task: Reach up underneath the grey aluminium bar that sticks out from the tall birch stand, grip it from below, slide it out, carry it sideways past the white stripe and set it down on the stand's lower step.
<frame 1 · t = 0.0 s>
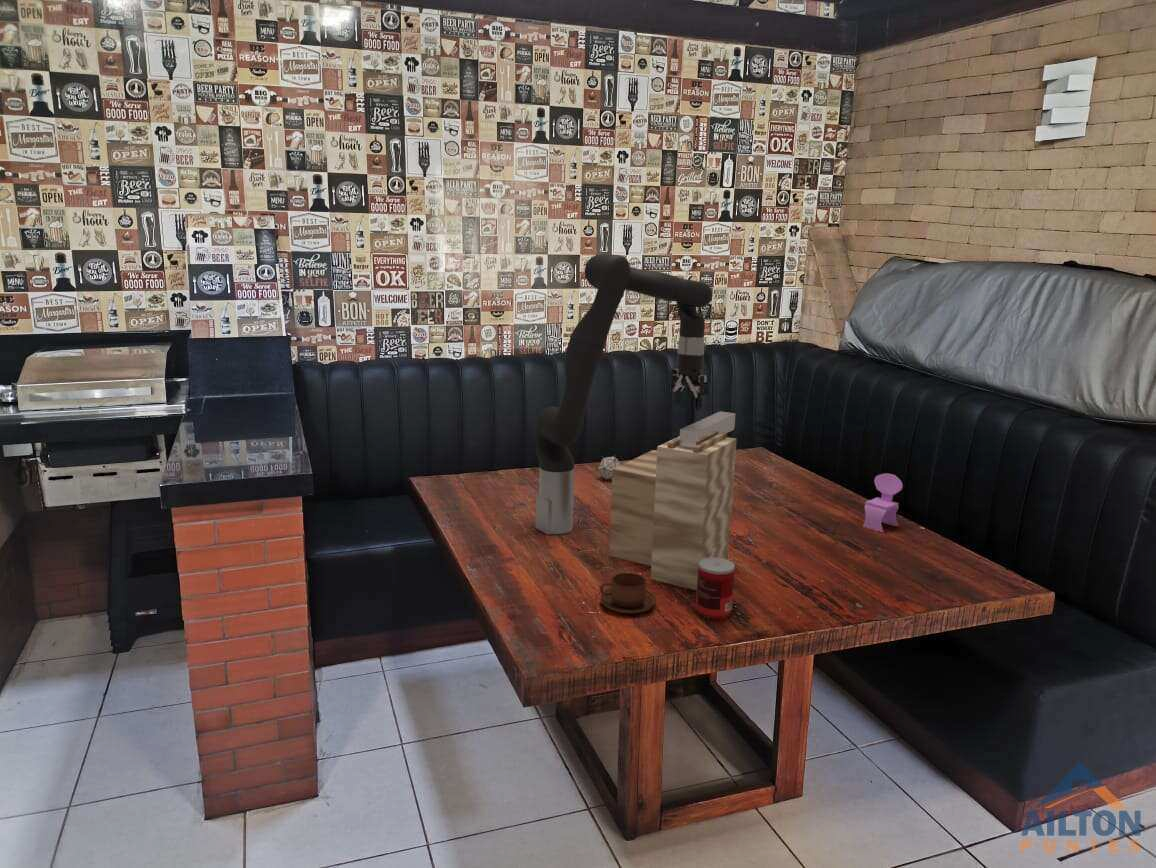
hand: (687, 407, 247), 29 cm above the table, tool pointing down, fingers open, 8 cm apart
toy chair: (879, 527, 237), on the table
game die: (609, 480, 275), on the table
cup and saucer: (627, 606, 184), on the table
canned food: (713, 612, 182), on the table
bar: (707, 437, 200), point 32 cm above the table, touching stand
stand: (689, 571, 203), on the table
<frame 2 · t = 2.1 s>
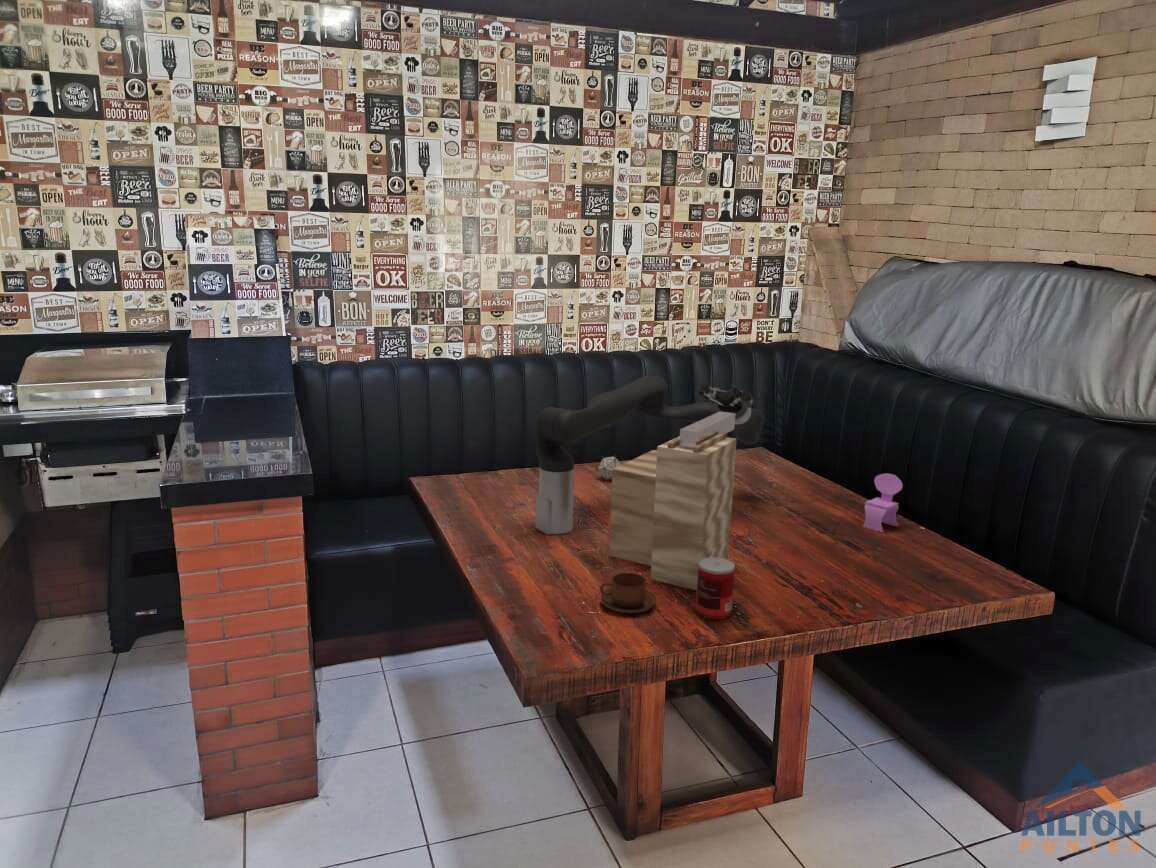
hand: (718, 387, 225), 39 cm above the table, tool pointing upward, fingers open, 8 cm apart
nothing on the table moved.
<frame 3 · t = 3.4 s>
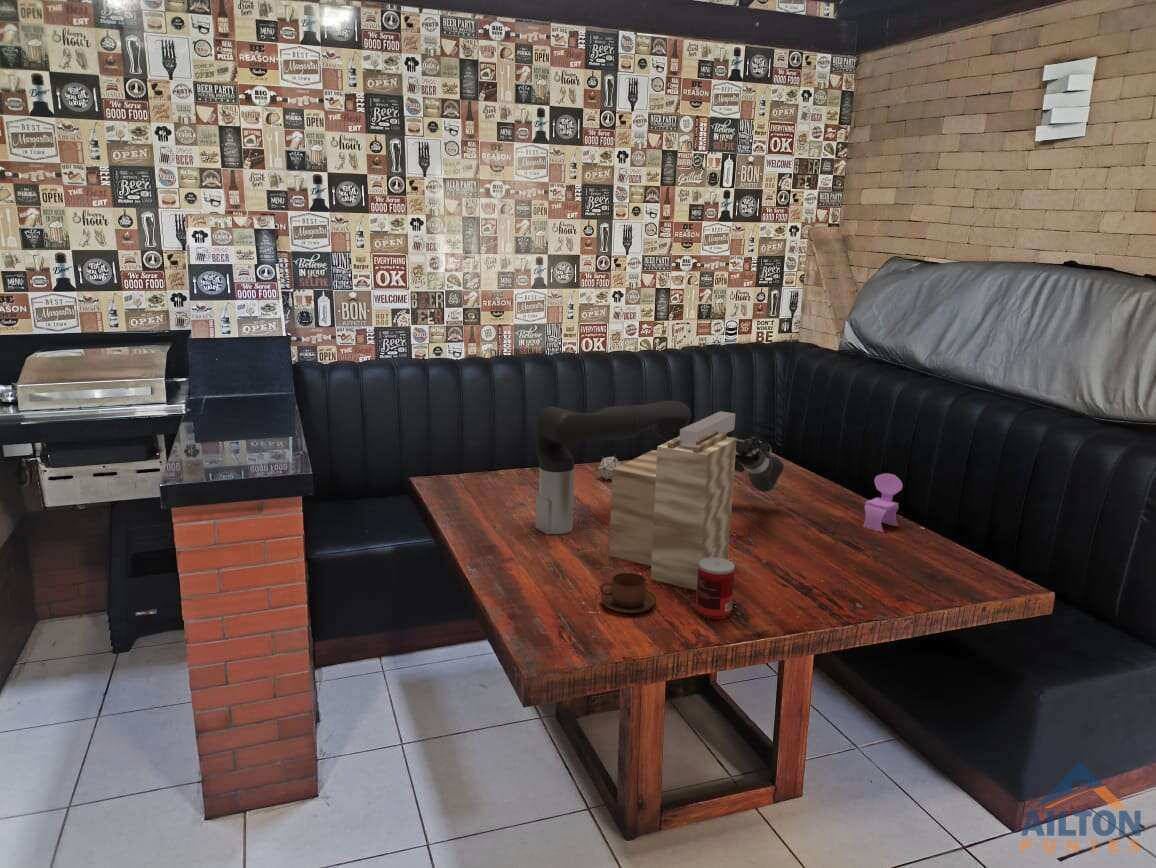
hand: (736, 437, 217), 28 cm above the table, tool pointing upward, fingers open, 8 cm apart
nothing on the table moved.
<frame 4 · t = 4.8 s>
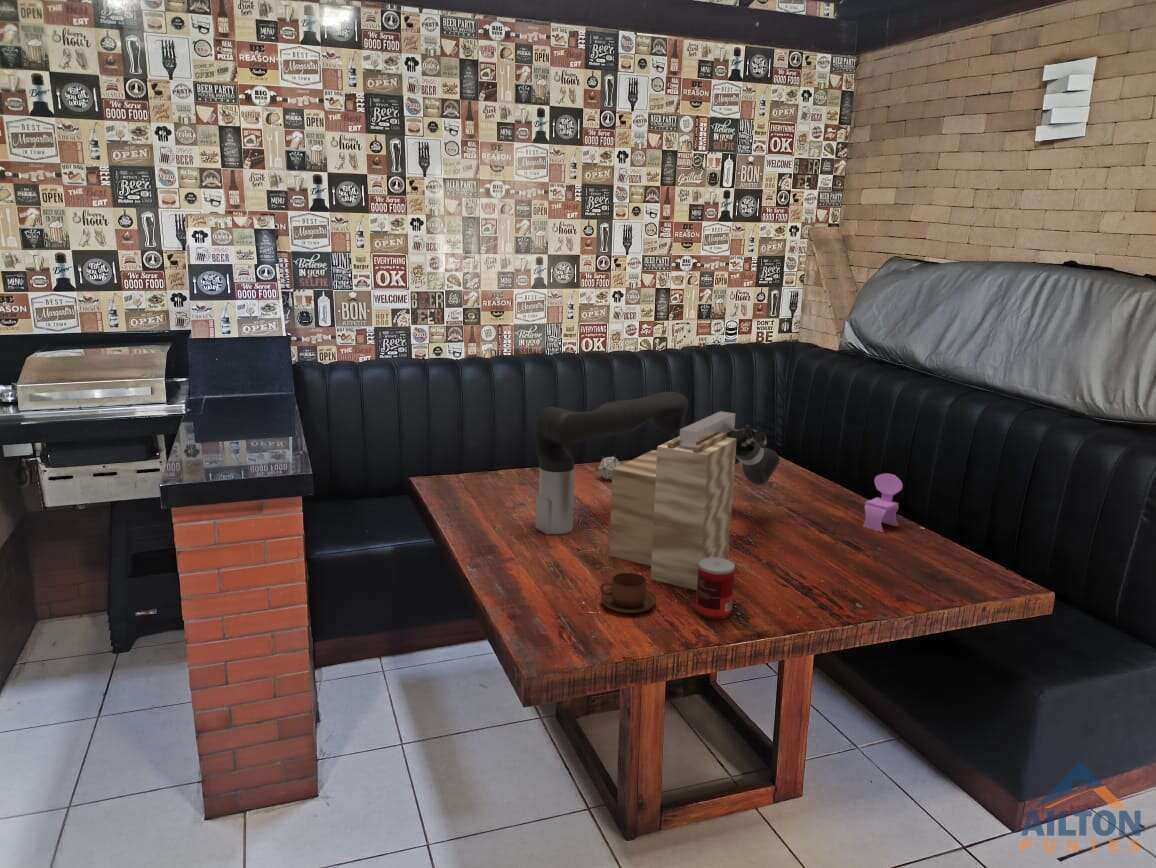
hand: (729, 426, 209), 33 cm above the table, tool pointing upward, fingers open, 8 cm apart
nothing on the table moved.
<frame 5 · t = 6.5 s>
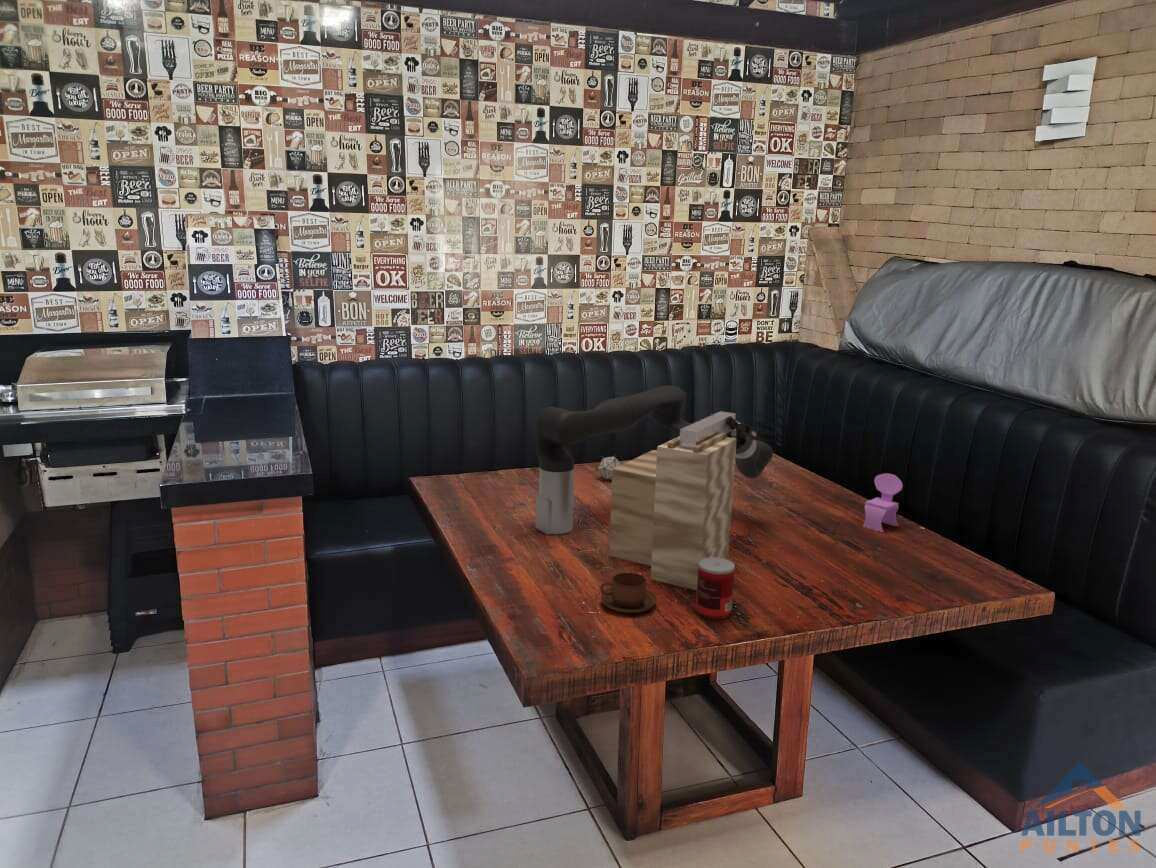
hand: (719, 418, 205), 35 cm above the table, tool pointing upward, fingers closed on bar, 4 cm apart
bar: (707, 437, 200), point 32 cm above the table, touching gripper, stand
everything else where it was.
when the fingers open (27 cm above the table, at t = 13.3 s): bar drops 1 cm, point 23 cm above the table.
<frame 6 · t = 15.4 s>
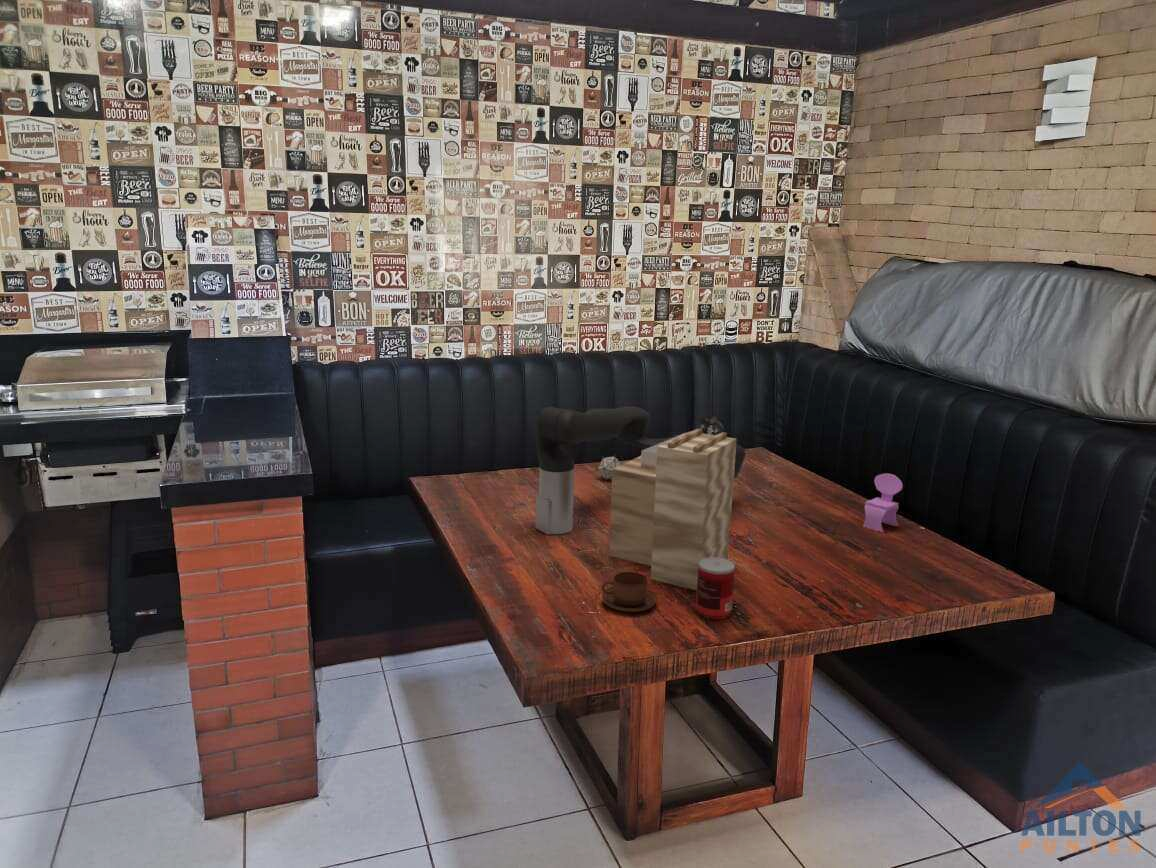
hand: (687, 428, 224), 28 cm above the table, tool pointing upward, fingers open, 8 cm apart
bar: (670, 457, 218), point 23 cm above the table, touching gripper
everything else where it was.
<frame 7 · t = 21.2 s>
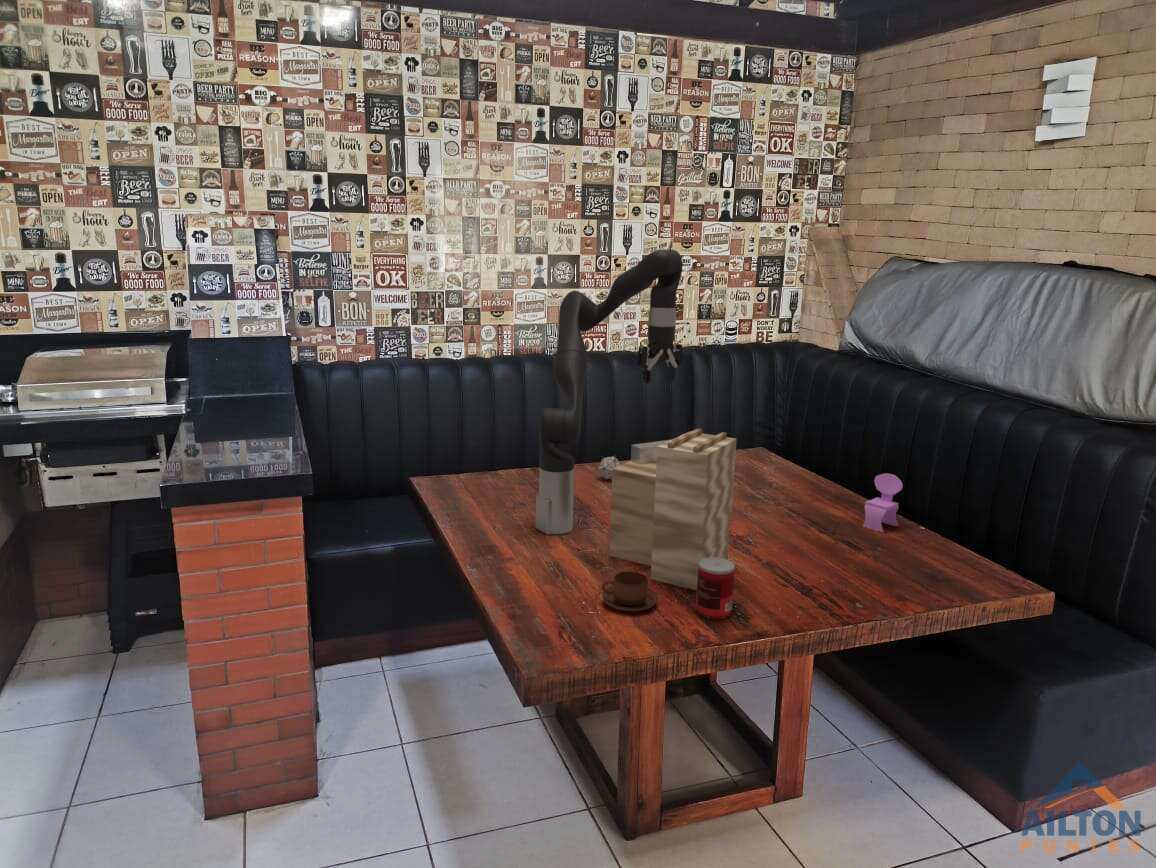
hand: (659, 382, 236), 38 cm above the table, tool pointing down, fingers open, 8 cm apart
bar: (673, 456, 219), point 22 cm above the table, touching stand
at the end: bar inside the target area (1.6 cm from its centre), point 22.5 cm above the table; bar tilted 0°; the gripper is holding nothing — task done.
